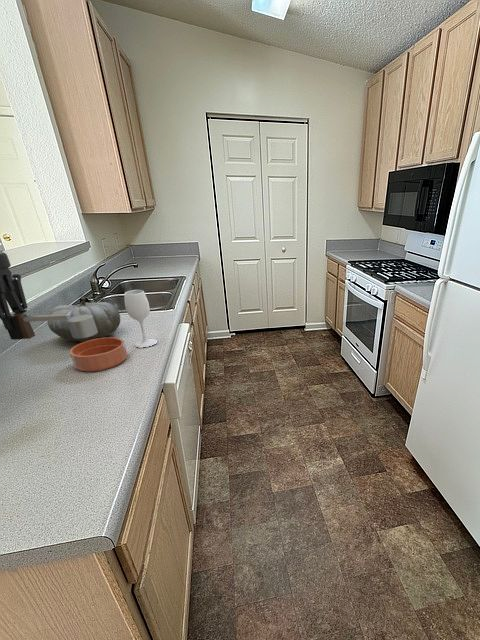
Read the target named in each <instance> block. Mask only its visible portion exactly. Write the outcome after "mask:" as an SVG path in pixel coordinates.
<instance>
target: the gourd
mask: <svg viewBox="0 0 480 640" xmlns="http://www.w3.org/2000/svg"><path fill="white" fill-rule="evenodd" d="M57 314H70V317H71V318H72V317H75V316H79V315H92V316H93V319H94V322H95V325H96V328H97V331H98V333H97V334H95V335H93V336H90V337H86V338H80V339H76V338H73V336H72V334H71V331H70V328H69V326H68V323H67V320H50V321H47V326H48V328H49V330H50V331H51V332H52V333H54V334H55V335H57V337H60V338H62V339H65V340H67V341H70V342H80V343H82V342H85V341H89V340H93V339H98V338H106V337H107V336H110V335H111V334H113V333H115V332H116V331H117V330H118V328H119V326H120V324H121V313H120V311H119V309H118V308H117V306H115V305H114V304H112V303H111V302H107V301H97V302H95V301H94V302H92V301H91V302H87V301H86V297H82V298H81V301H80V303H77V304H76V305H74V304H73V305H72V304H59V305H57V306H55V307H53V308H52V309H51V310H50V311H49V314H48V315H57Z"/></svg>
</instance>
